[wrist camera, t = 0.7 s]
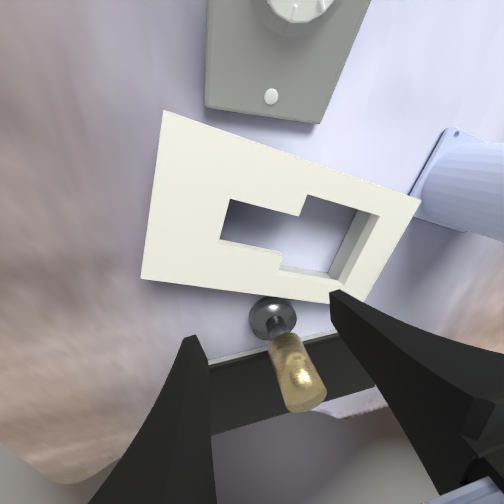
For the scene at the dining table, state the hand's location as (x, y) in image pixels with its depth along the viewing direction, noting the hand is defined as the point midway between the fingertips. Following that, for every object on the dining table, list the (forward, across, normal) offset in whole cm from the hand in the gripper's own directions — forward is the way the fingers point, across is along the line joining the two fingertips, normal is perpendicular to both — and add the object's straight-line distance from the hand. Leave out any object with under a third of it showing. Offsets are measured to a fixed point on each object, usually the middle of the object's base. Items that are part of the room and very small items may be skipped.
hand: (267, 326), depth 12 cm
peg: (+10, -2, +9) cm, 14 cm away
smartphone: (+11, -2, +20) cm, 23 cm away
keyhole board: (+10, -4, -1) cm, 11 cm away
